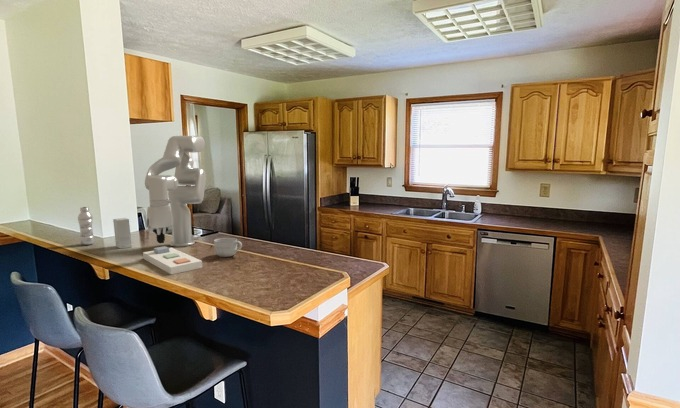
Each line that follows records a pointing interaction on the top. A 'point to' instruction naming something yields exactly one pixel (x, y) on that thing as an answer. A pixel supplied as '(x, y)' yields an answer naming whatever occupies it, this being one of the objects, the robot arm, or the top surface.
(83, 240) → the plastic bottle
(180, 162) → the robot arm
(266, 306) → the top surface
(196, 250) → the top surface
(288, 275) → the top surface
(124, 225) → the skincare box
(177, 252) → the button panel
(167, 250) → the slate button
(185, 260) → the terracotta button
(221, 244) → the teacup
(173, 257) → the sage button
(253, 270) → the top surface
